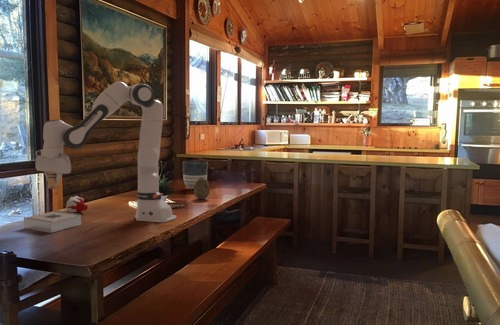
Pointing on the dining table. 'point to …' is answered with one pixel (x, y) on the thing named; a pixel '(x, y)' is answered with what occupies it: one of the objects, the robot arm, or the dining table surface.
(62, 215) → the bore block
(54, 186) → the small beige jar
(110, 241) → the dining table surface
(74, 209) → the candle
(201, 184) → the decorative egg
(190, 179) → the planter
